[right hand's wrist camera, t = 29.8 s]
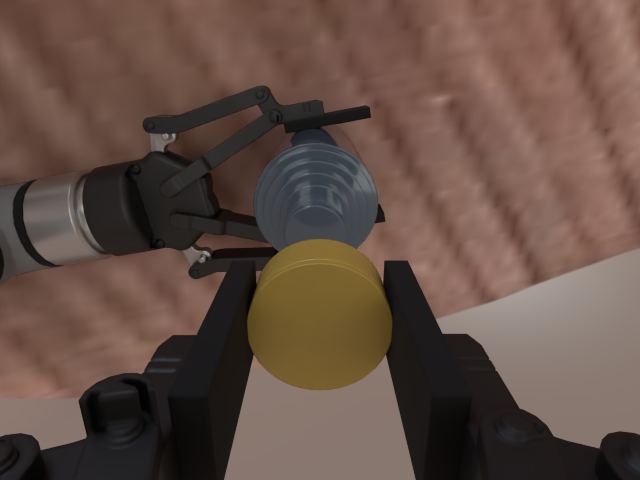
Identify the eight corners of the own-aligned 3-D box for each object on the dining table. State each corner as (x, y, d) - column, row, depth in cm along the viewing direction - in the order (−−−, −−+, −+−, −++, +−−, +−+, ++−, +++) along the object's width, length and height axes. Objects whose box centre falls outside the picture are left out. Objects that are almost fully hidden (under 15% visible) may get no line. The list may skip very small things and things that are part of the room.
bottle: (260, 162, 42) (207, 240, 21) (313, 102, 40) (309, 123, 20) (318, 213, 44) (320, 330, 23) (372, 158, 42) (424, 231, 21)
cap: (362, 363, 16) (368, 403, 14) (244, 337, 15) (233, 374, 13) (401, 255, 14) (413, 283, 12) (271, 223, 14) (263, 246, 12)
